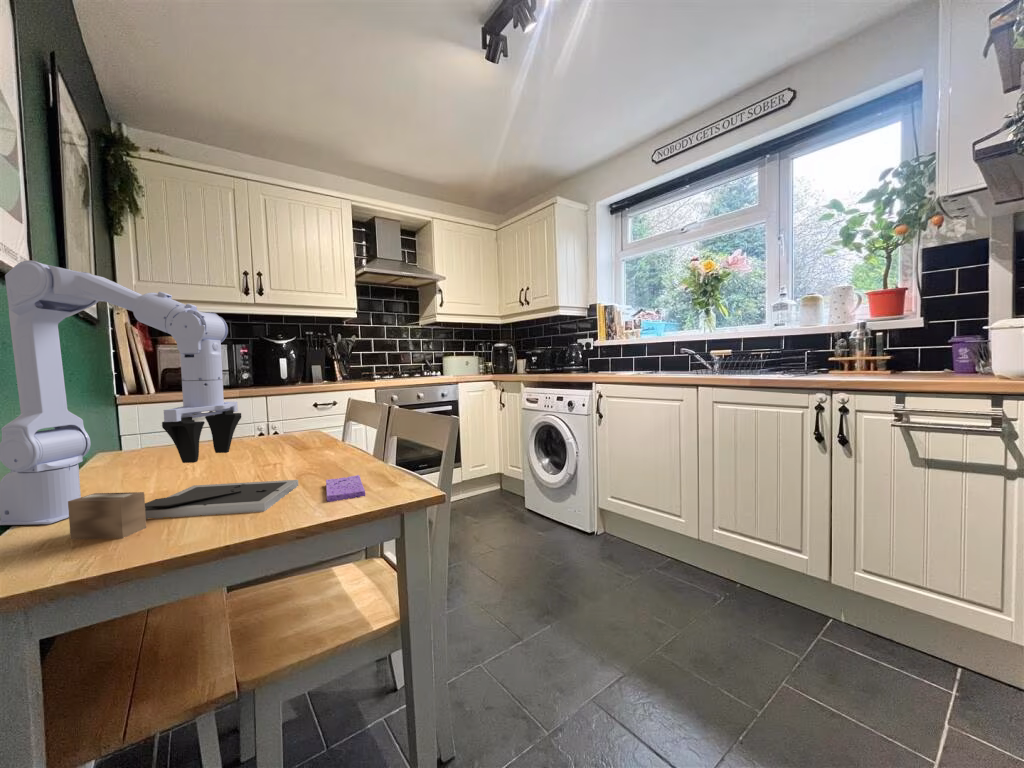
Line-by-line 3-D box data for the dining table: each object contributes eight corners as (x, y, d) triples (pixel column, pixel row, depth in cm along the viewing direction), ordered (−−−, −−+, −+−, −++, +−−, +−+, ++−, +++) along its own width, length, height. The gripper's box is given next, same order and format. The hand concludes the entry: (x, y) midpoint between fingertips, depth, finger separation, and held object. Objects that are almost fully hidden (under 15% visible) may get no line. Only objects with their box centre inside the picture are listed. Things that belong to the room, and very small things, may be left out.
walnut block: (70, 540, 62) (67, 500, 62) (97, 529, 66) (94, 492, 66) (123, 538, 62) (120, 499, 62) (146, 528, 66) (144, 491, 66)
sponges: (360, 483, 92) (359, 474, 91) (365, 499, 80) (365, 489, 80) (325, 487, 88) (325, 479, 88) (326, 504, 77) (326, 495, 77)
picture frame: (135, 523, 70) (264, 514, 73) (134, 507, 70) (264, 499, 73) (194, 495, 86) (298, 489, 88) (193, 481, 86) (298, 476, 88)
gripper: (193, 381, 64) (198, 466, 65) (251, 378, 78) (255, 448, 79) (148, 382, 64) (153, 467, 64) (215, 379, 78) (219, 449, 79)
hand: (206, 457), depth 72 cm, fingers open, 7 cm apart
